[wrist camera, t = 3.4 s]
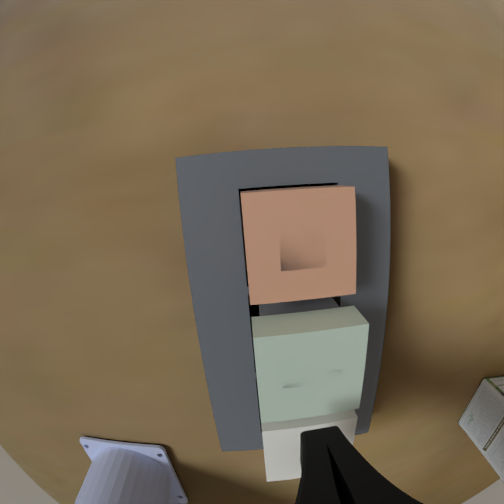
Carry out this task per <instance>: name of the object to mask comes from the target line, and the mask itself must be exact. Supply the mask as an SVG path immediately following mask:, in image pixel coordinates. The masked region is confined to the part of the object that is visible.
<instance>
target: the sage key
mask: <svg viewBox="0 0 504 504" xmlns="http://www.w3.org/2000/svg"><path fill="white" fill-rule="evenodd" d="M259 314H260V316H256V317H252V331H253V343H254V354H255V364H256V375H257V386H258V396H259V406H260V417H261V423H265V422H275V421H284V420H293V419H300V418H308V417H314V416H321V415H327V414H332V413H338V412H343V411H349V410H354V409H358V408H359V406H360V400H361V393H362V386H363V378H364V370H365V362H366V352H367V342H368V331H369V323H368V322H367V320H366V319H365V318H364V317H363V316H362V314H361V313H360V312H359V311H358V310H357V308H356V307H355V306H347V307H339V306H338V305H337V303H336V302H335V300H334V299H333V298H332V297H326V298H317V299H308V300H299V301H289V302H279V303H269V304H259Z"/></svg>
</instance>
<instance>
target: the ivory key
mask: <svg viewBox="0 0 504 504" xmlns="http://www.w3.org/2000/svg"><path fill="white" fill-rule="evenodd" d="M357 418H358V417H357V415H356V413H355V410H349V411H343V412H338V413H332V414H327V415H321V416H314V417H308V418H300V419H293V420H284V421H275V422H265V423H261V426H262V437H263V447H264V457H265V467H266V477H267V482H269V481H279V480H288V479H296V478H301V463H300V434H301V433H302V432H303V431H308V430H314V429H320V428H325V427H331V426H338V427H339V428H340V430H341V431H342V433H343V434H344V435H345V437H346V438H347V439H348V440H349V442H350V443H351V444H352V445H353V440H354V435H355V430H356V424H357Z"/></svg>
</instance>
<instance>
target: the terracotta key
mask: <svg viewBox="0 0 504 504" xmlns="http://www.w3.org/2000/svg"><path fill="white" fill-rule="evenodd" d="M241 204H242V216H243V228H244V239H245V251H246V262H247V273H248V284H249V296H250V305H258V304H269V303H279V302H289V301H299V300H308V299H317V298H326V297H334V296H342V295H350V294H356V202H355V187H354V186H344V185H333V186H312V187H295V188H279V189H265V190H253V191H241Z"/></svg>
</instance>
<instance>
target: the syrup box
mask: <svg viewBox="0 0 504 504" xmlns="http://www.w3.org/2000/svg"><path fill="white" fill-rule="evenodd" d="M458 423H459V425H460V426H461V427H462V429H463V430H464V431H465V432H466V433H467V435H468V436H469V437H470V439H471V440H472V441H473V442H474V444H475V445H476V446H477V448H478V449H479V450H480V451H481V453H482V454H483V455H484V457H485V458H486V459H487V461H488V462H489V463H490V465H491V466H492V467H493V469H494V470H495V471H496V473H497V474H498V475H499V477H500V478H501V479H502V481H503V482H504V376H498V377H491V378H484V379H483V380H482V382H481V384H480V386H479V387H478V389H477V391H476V392H475V394H474V396H473V398H472V399H471V401H470V403H469V405H468V406H467V408H466V410H465V412H464V413H463V415H462V417H461V418H460V420H459V422H458Z"/></svg>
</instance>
